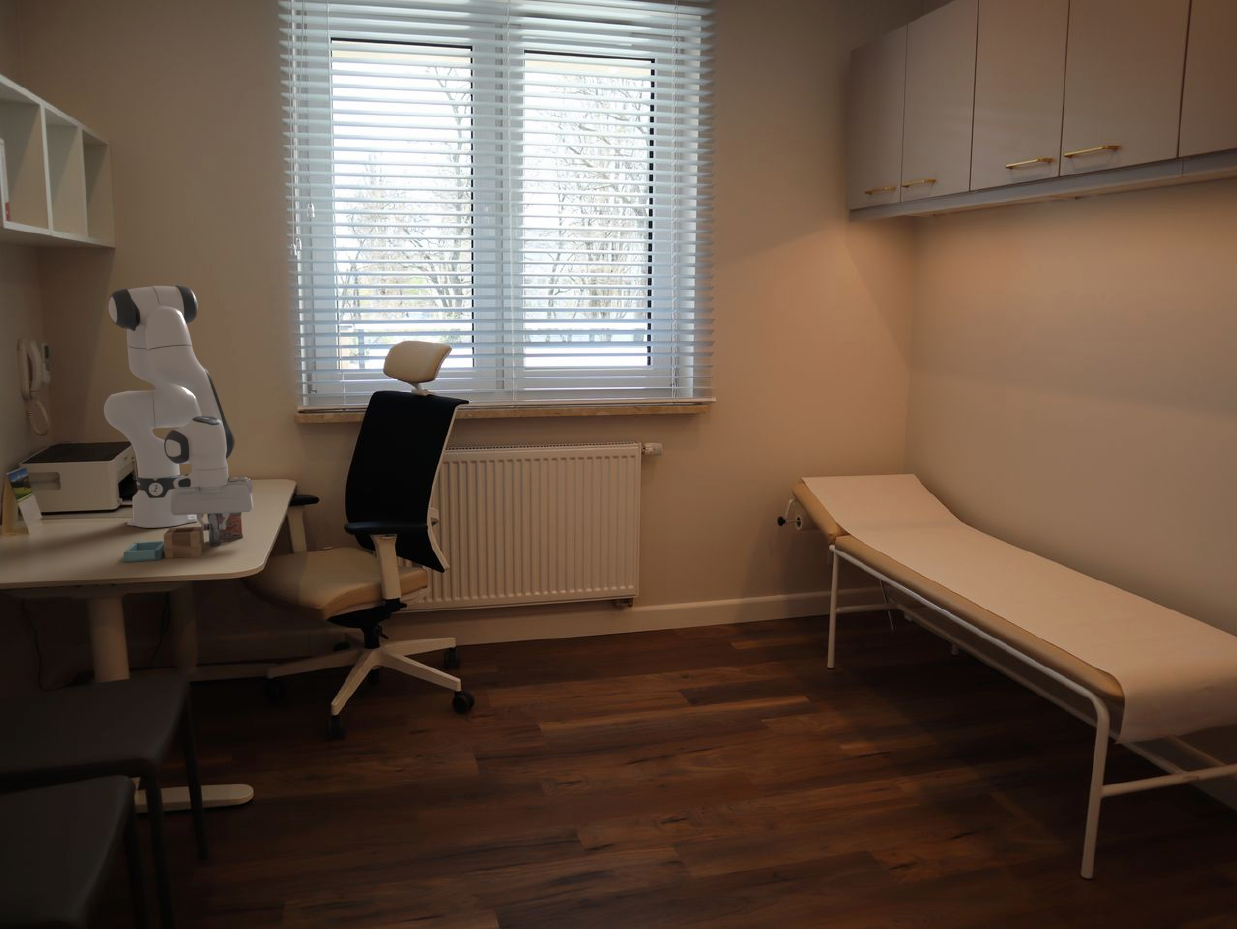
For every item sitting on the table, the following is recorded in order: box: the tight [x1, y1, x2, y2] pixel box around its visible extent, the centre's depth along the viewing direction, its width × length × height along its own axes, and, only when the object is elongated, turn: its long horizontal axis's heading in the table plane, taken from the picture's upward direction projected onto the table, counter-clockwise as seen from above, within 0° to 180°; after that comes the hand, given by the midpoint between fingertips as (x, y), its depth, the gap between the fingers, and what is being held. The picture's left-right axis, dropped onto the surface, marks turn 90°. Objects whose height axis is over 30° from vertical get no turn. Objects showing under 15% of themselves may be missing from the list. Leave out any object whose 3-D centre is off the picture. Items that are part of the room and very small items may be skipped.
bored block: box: [163, 526, 206, 559], centre depth 253 cm, size 8×8×6 cm
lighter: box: [219, 512, 244, 542], centre depth 269 cm, size 8×3×10 cm, turn 111°
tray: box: [123, 540, 165, 563], centre depth 251 cm, size 11×8×2 cm
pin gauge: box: [206, 513, 222, 547], centre depth 262 cm, size 3×3×11 cm
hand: (214, 529), depth 262 cm, fingers closed on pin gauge, 3 cm apart
